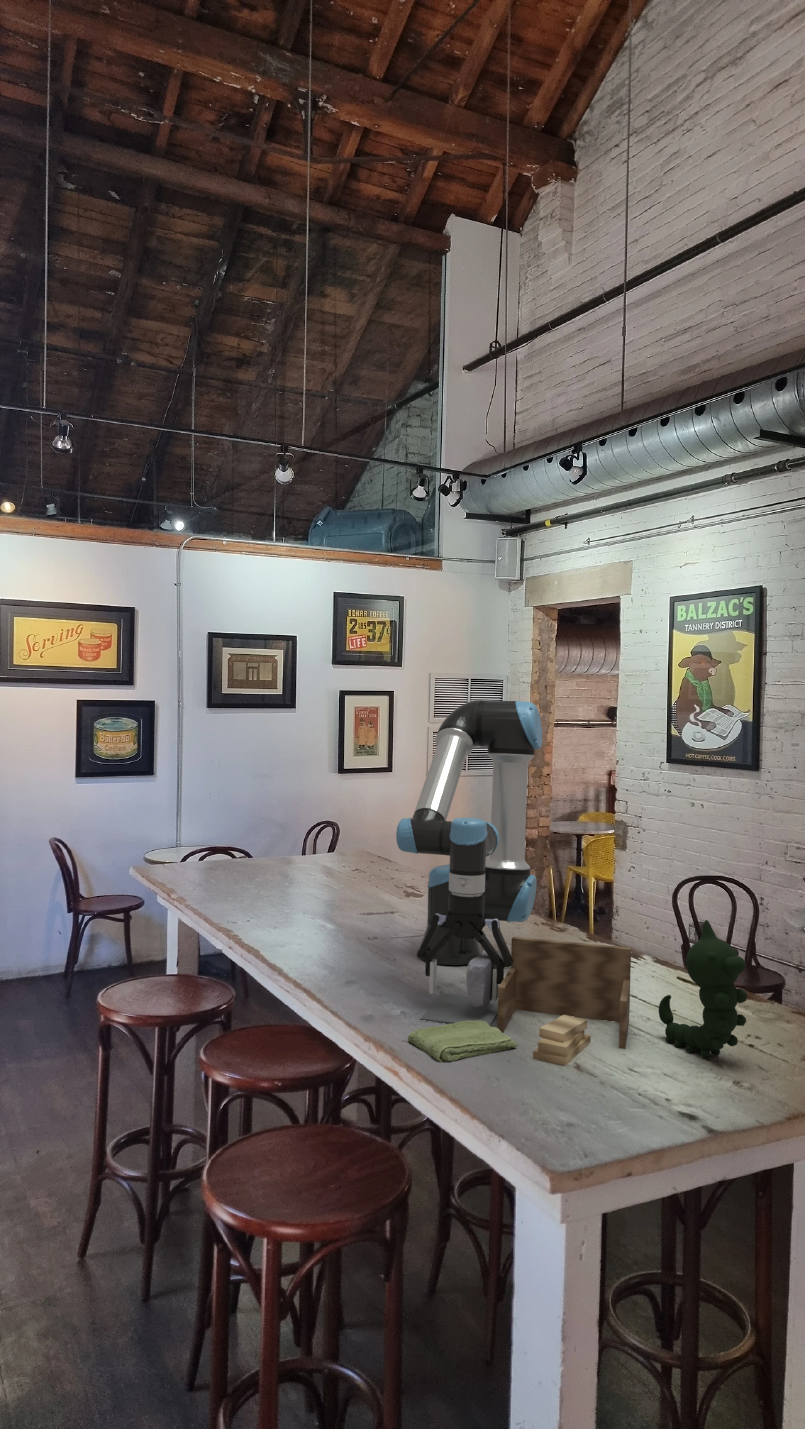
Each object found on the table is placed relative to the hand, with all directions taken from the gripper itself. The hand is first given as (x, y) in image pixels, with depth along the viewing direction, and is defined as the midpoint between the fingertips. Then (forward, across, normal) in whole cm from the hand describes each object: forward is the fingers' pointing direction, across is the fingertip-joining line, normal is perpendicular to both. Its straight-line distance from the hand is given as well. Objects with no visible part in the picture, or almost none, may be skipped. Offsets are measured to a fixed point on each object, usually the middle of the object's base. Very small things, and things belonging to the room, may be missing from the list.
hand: (463, 995), depth 194 cm
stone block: (+1, +6, 0) cm, 6 cm away
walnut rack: (+3, +21, -3) cm, 22 cm away
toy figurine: (+3, +46, -6) cm, 47 cm away
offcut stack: (+4, +22, -15) cm, 27 cm away
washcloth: (+4, +4, -19) cm, 20 cm away
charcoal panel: (+3, 0, 0) cm, 3 cm away
